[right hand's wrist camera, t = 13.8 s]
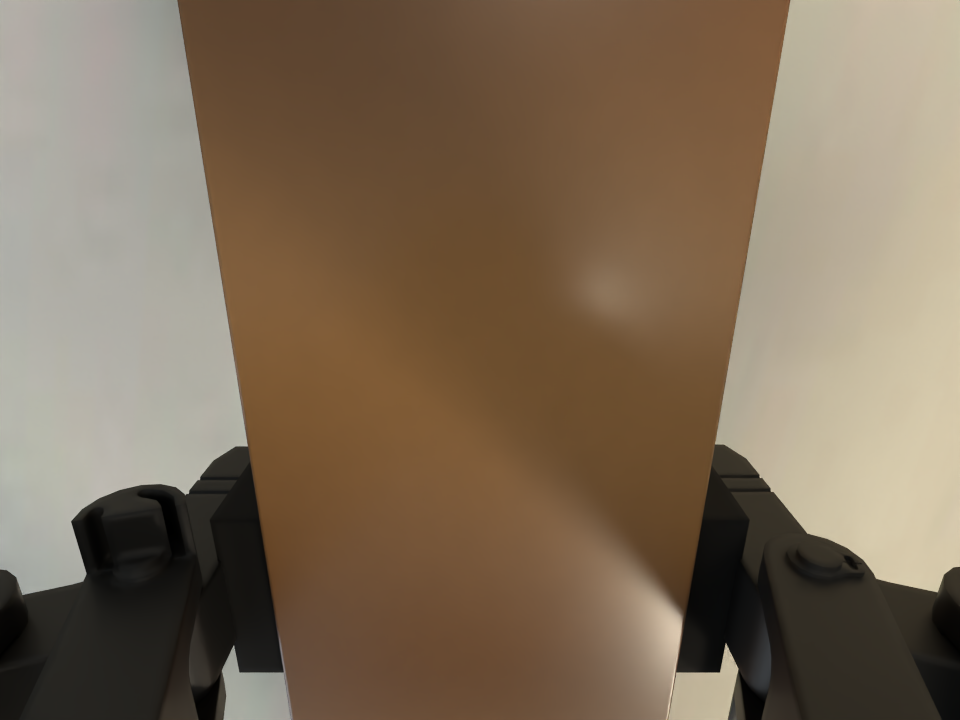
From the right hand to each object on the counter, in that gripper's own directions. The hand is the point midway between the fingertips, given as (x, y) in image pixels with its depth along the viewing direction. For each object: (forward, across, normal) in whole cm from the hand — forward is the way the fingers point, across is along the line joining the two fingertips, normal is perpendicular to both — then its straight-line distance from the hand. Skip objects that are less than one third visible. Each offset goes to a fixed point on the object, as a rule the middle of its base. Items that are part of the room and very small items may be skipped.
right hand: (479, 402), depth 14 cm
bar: (+1, 0, -26) cm, 26 cm away
